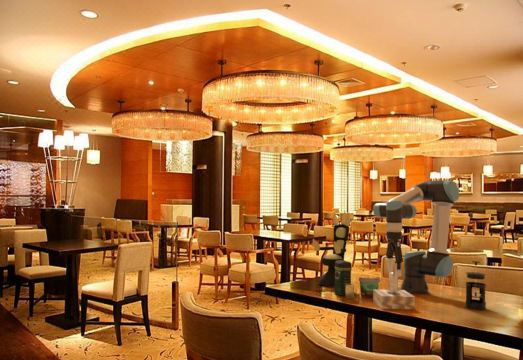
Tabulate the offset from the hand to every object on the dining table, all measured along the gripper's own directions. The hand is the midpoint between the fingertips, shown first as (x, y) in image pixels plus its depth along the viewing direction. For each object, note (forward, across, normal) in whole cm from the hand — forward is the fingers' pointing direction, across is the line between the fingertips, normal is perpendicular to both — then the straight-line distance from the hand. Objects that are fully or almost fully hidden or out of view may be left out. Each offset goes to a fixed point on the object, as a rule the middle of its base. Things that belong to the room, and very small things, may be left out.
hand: (394, 273), depth 228 cm
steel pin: (+16, 0, -1) cm, 16 cm away
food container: (+16, -20, -7) cm, 26 cm away
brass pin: (+15, -14, -20) cm, 28 cm away
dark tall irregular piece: (+16, -50, -22) cm, 57 cm away
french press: (+16, +2, +39) cm, 43 cm away
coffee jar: (+16, -22, -22) cm, 35 cm away
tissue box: (+16, 0, -1) cm, 16 cm away
